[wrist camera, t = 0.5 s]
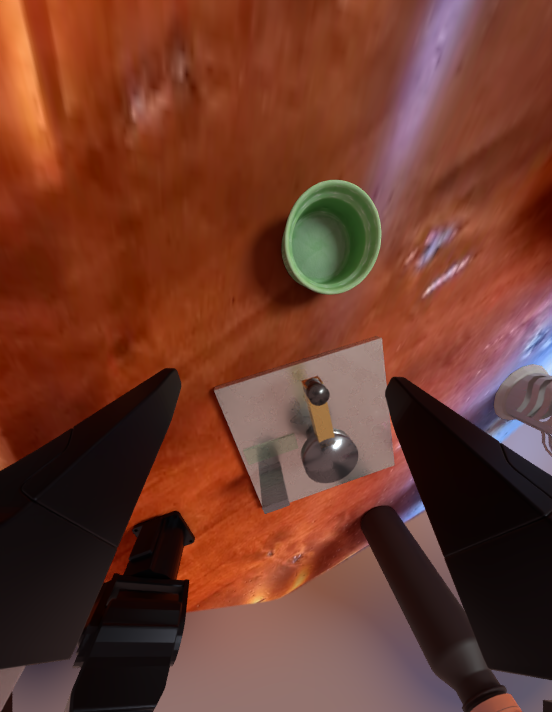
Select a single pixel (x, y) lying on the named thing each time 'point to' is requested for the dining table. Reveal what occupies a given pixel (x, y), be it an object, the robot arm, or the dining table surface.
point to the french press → (527, 399)
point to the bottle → (434, 614)
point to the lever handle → (325, 439)
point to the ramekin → (331, 237)
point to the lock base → (308, 419)
